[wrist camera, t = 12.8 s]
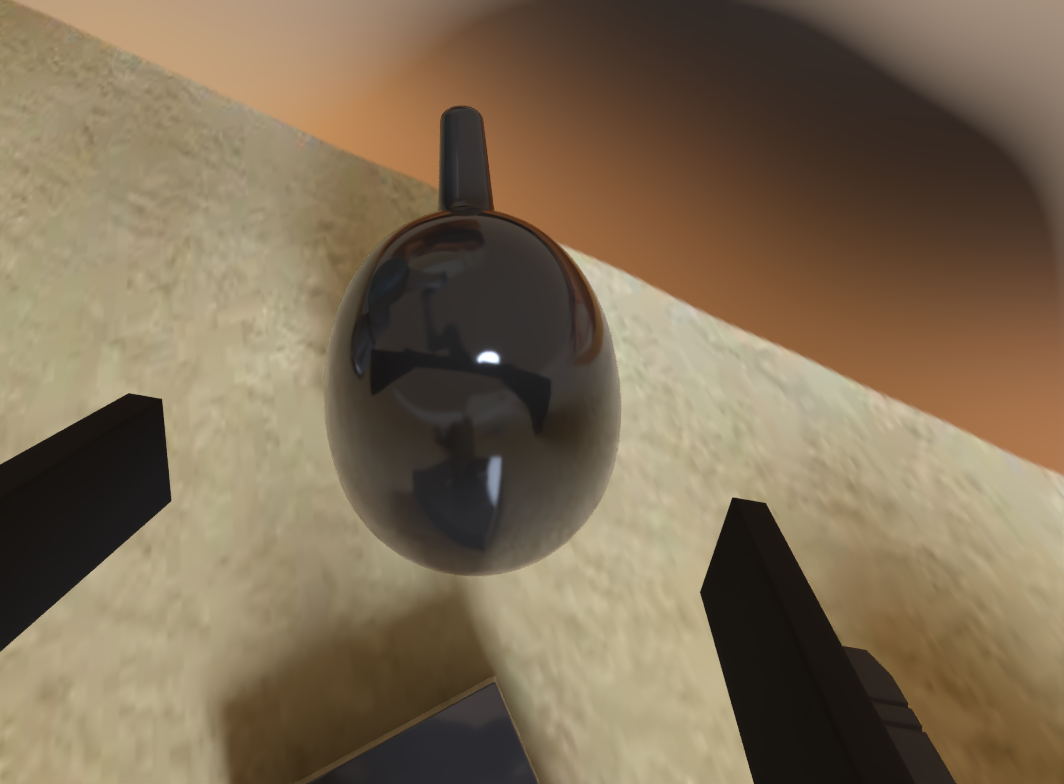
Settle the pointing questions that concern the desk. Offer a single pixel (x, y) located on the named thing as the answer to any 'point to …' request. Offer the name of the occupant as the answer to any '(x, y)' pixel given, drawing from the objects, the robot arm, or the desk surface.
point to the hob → (442, 747)
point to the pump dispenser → (471, 381)
